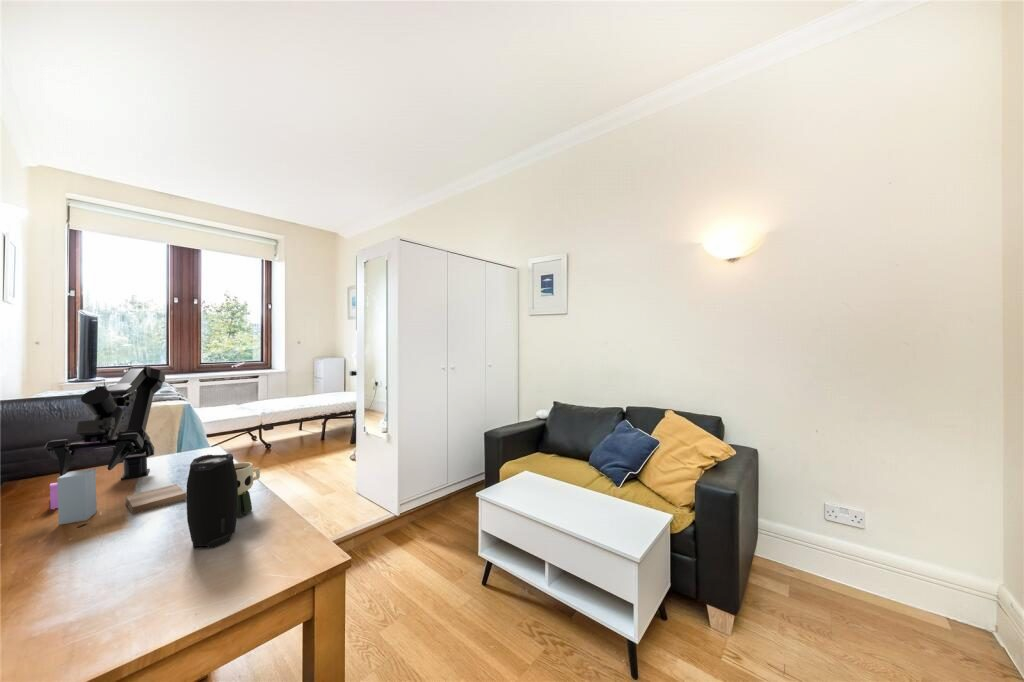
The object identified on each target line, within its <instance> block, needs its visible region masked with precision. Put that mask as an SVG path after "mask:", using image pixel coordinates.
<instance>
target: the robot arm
mask: <svg viewBox="0 0 1024 682" xmlns="http://www.w3.org/2000/svg"><path fill="white" fill-rule="evenodd" d="M165 381H166V375H165V373H164V372H163V371H162V370H161V369H156V368H152V367H150V366H149V365H132V366H129V367H128V369H127V372H126V373H125V374H124V375H123V376H122V377H121V378H120V379H119V381H118V382H117V383H116V384H114V385H110V386H107V387H106V385H97V386H95V387H94V388H93V389H92V390H89V391H87V392H84V394H82V395H81V397H80V400H81V402H82V404H83V405H84V406H85V408H86V409H87V411H88V413H90V415H94V418H93V420H81V421H80V420H79V421H77V422H76V427H75V431H74V434H75V435H80V436H79V439H80V440H81V441H83V442H72V441H71V440H70V438H65V439H53V440H50V441H48V442H46V444H45V445H44V448H43V450H44V451H45V452H46V453H47V454H48V455H49V456H50V457H51V459H54V460H57V461H58V468H59V469H58V471H59V477H61V476H62V475H64V474H66V473H68V472H69V471H68V470H69V469H70V467H71V465H72V463H73V461H74V459H75V457H74V455H75V454H76V451H84V450H91V449H93V450H94V449H95V450H96V449H106V448H112V452H113V453H112V455H111V457H110V460H109V463H108V465H107V470H108V471H111V470H113V469H114V468H115V467H116V466H118V464H119V463H120V462H122V461H123V473H122V475H121V477H120V480H125V479H126V480H128V479H132V478H137V477H143V476H147V475H149V472H150V470H151V468H148V458H150V457H152V456H154V455H155V446H154V445H153V443H152V441H151V440H150V439H151V438H150V436H149V434H148V433H147V431H146V430H147V425H148V421H149V416H150V412H151V407H152V404H153V399H154V395H155V394H156V393H157V392H159V391H160V390H161V389H162V387H163V383H165ZM131 405H132V409H131V412H130V415H129V420H128V423H127V427H126V429H125V430H124V431H123V430H122V431H119V426H120V424H121V421H122V420H124V419H125V411H124V409H123V408H124V407H130V406H131ZM116 435H117V437H116ZM115 437H116V439H115Z"/></svg>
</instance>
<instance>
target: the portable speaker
mask: <svg viewBox="0 0 1024 682" xmlns="http://www.w3.org/2000/svg"><path fill="white" fill-rule="evenodd" d="M234 464H235V462H234V455H233V453H226V454H206V455H201V456H198V457H195V458H193V460H192V461H191V463H190V465H189V471H188V476H187V481H186V491H185V492H186V500H185V501H186V520H187V526H188V530H189V536H190V540H191V543H192V548H193V549H194V548H198V546H207V547H208V548H211V549H212V548H217V547H220V546H222V545H224V544H226V543H228V542H230V541H231V539H232V536H233V535H234V533H235V532H236V527H237V521H238V517H237V515H238V484H237V474H236V470H235V466H234Z"/></svg>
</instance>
